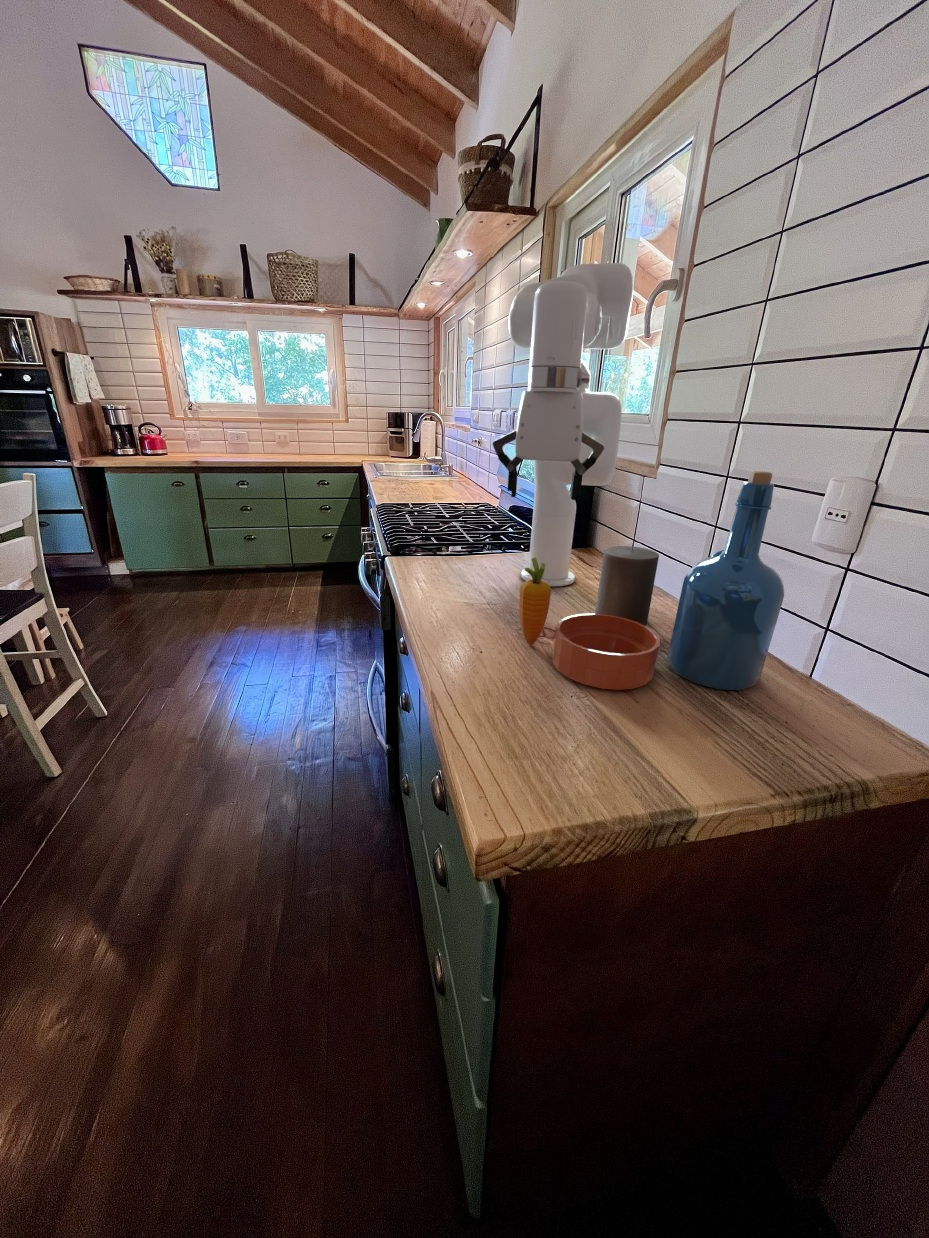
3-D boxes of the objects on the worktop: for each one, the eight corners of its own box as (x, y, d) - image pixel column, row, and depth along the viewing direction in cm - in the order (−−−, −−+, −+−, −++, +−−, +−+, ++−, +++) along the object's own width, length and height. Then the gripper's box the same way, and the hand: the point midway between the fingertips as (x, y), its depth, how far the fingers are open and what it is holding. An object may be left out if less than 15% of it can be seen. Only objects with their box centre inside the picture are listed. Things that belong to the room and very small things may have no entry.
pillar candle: (651, 633, 90) (667, 553, 84) (596, 629, 91) (608, 549, 85) (640, 613, 99) (654, 540, 93) (591, 610, 100) (601, 536, 94)
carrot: (544, 653, 81) (553, 565, 75) (514, 650, 82) (520, 562, 76) (546, 641, 86) (554, 556, 80) (517, 637, 86) (523, 554, 81)
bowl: (550, 642, 85) (553, 610, 83) (641, 650, 83) (647, 617, 81) (554, 687, 71) (558, 650, 69) (663, 697, 70) (671, 659, 67)
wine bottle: (769, 701, 70) (838, 481, 58) (668, 684, 73) (714, 473, 61) (748, 659, 82) (801, 470, 70) (663, 646, 85) (700, 464, 74)
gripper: (608, 383, 77) (594, 495, 84) (497, 381, 79) (492, 490, 86) (616, 382, 70) (599, 504, 77) (494, 379, 72) (488, 498, 79)
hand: (543, 497), depth 81 cm, fingers open, 9 cm apart
